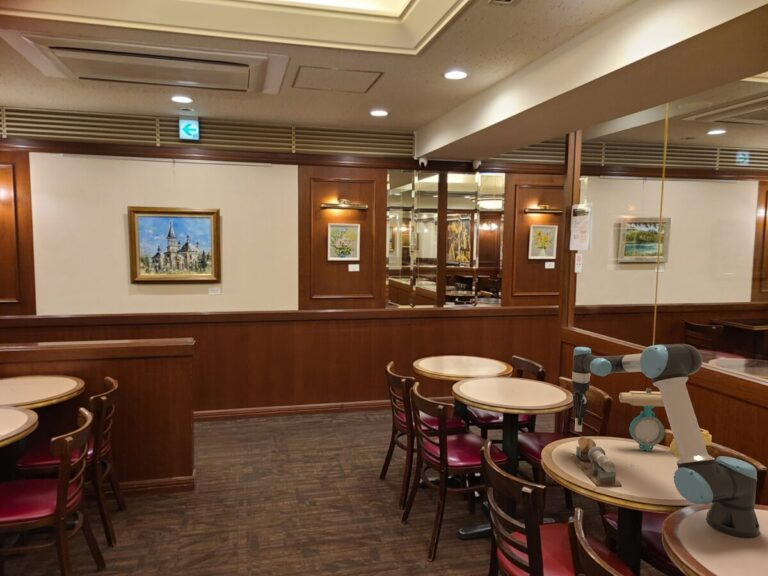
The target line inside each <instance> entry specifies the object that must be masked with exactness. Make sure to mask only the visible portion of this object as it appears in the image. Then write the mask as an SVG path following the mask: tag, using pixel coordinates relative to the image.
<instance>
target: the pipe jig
mask: <svg viewBox="0 0 768 576" xmlns="http://www.w3.org/2000/svg"><path fill="white" fill-rule="evenodd" d="M588 458H589V460H590V461H581V460H580V459H579V458H578V457H577V456H576V453H572V456H570V459H571V460H572V461H573V463H575V465H577V467H578V468H579V469H580V470H581V471H582V473H584V475H585V476H587V478H588V479H589V480H590V481H591V482H592V483H593V484H594V485H595V486H596V487H598V488H599V487H604V488H605V487H608V488H609V487H611V488H613V487H614V488H622V487H623V485H622V483H621V482H620V481H619V480H618V479H617V478H616V477H617V475H616V474H617V471H616V470H615V467H616V465H615V464H614V462H613V461H612V460H611V459H609V458H608V457H607V455H606V451H605V450H604V449H603V448H602V447H600V446H597V445H596V446H595V447H592V448H591V449H590V450H589V452H588Z"/></svg>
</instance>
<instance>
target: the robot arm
mask: <svg viewBox="0 0 768 576" xmlns="http://www.w3.org/2000/svg"><path fill="white" fill-rule="evenodd" d="M702 365H703V356H702V354H701V353H700V351H699V350H698V349H697V348H696V347H694V346H692V345H690V344H686V343H678V344H677V343H672V344H669V343H668V344H662V343H660V344H655V345H650V346H647V347H645V348H644V350H643V351H642V352H641V353H633V354H622V355H620V354H619V355H604V356H603V355H602V356H598V355H593V354H592V349H591V348H590V347H586V346H576V347H575V348H573V355H572V373H571V375H572V376H571V380H572V381H571V389H573V390H574V391H572V394H571V395H572V404H573V407H572V410H573V412H572V413H573V414H574V416H575V417H574V418H575V421H574V422H575V423H574V431H575V432H578V433H579V432H583V419H585V418H586V413H587V407H588V404H589V400H588V399H587V393H586V392H589V391H590V385H591V383H590V380H591V379H590V377H591V375H592V374H594V375H596V376H600V377H606V376H607V375H609V374H615V373H617V374H619V373H623V374H624V373H638V372H640V373H642V374H643V375H644V376H645V377H646V378H649V379H651V382H652V385H653V386H654V387H656V388H658V389H659V392H660V393H661V397H662V400H663V403H664V406H663V407H664V409H665V412H666V415H667V420H668V423H669V425H670V430H671V433H672V436H673V439H675V443H676V446H677V449H678V453H679V456H680V458H679V459H678V460H677V461H676V465H677V469H676V470H675V471H674V474H673V483H674V486H675V488H676V490H677V492H678V493H679V495H680V496H681V497H682V498H684V499H685V500H686V501H687V502H689V503H692V504H694V505H709V504H710V507H709V509H708V511H706V512H707V513H706V519H705V520H707V521H706V523H707V522H708V523H707V524H708V525H709V526H710V527H712V528H713V529H715V530H716V531H718V532H721V533H723V534H726V535H728V536H732V537H736V538H742V539H752V538H757V537H759V535H760V523H759V521H758V516H757V514H756V511H755V505H756V491H757V481H758V477H757V476H758V474H757V473H758V470H757V468H756V467H755V466H754V465H752V464H751V463H750V462H749V463H748V462H747V461H744V460H741V459H738V458H734V457H730V456H724V455H723V456H721V455H720V456H717V457H716V458H715V457H714V456H712V455H710V454H709V453H708V450H707V447H706V446H705V444H704V441H703V437H702V434H701V431H700V426H699V422H698V419H697V416H696V413H695V410H694V407H693V403H692V401H691V397H690V394H689V391H688V388H687V384H686V383H687V382H688V380H689V377H688V376H691V375H694V374H695V373H697V372H698V371H700V369H701V368H702ZM591 373H592V374H591Z"/></svg>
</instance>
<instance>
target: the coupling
mask: <svg viewBox="0 0 768 576" xmlns="http://www.w3.org/2000/svg"><path fill="white" fill-rule="evenodd" d="M577 444H578V446H576V448H575V455H576V456H577V457H578V458H579V459H580V460H581V461H590V460H589V458H588V452H589V450H590V449H591V448H592V447H595V446H597V445H596V442H595V441H594V440H593V439H592V438H590V437H589V438H588V437H585V436H583V437H579V438H578V440H577Z"/></svg>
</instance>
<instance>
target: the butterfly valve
mask: <svg viewBox="0 0 768 576" xmlns="http://www.w3.org/2000/svg"><path fill="white" fill-rule="evenodd" d="M652 390H653V389H652V388H648V387H647V388H646V389H645V390H644V391H642V390H641V391H640V390H629V392H620V393H618V399H619V402H620V403H624V404H625V403H626V404H629V405H631V406H636V407H639V406H640V407H643V408H644V409H643V410H642V411H639V414H638V415H637V416H636V417H634V418H633V420H632V421H631V422H630V424H629V428H628V430H629V434H630V436H631V438H632V439H633V440H634V441H635V442H636V443H637V444H638V447H639V449H640V450H643V451H644V450H646V451H645V452H649V451H650V450H651V451H652V450H654V446H656V445H658V444H659V443H661V441H662V440H663V439H664V436H665V433H666V430H665V426H664V424H663V423H662V422H661V420H660V419H659V418H658V417H656V413H655V412H654V411H652V409H654V408H655V407H664V403H663V400H662V397H661V393H660V391H652Z"/></svg>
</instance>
